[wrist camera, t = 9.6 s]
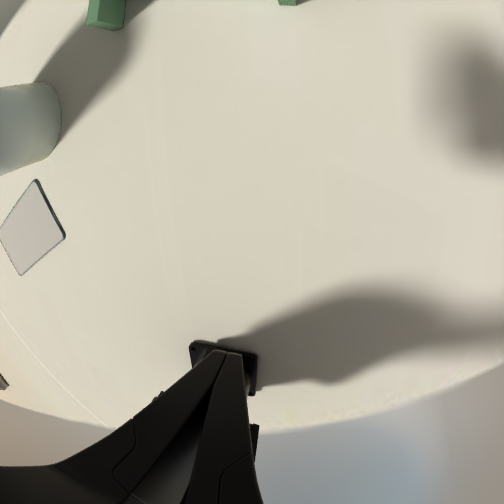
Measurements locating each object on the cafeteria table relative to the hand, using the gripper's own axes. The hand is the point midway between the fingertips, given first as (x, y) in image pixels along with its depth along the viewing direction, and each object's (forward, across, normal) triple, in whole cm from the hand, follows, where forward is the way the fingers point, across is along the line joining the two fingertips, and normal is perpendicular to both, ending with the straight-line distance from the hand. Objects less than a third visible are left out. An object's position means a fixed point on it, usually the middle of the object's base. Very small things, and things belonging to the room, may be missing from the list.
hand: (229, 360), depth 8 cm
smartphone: (+13, +28, +4) cm, 31 cm away
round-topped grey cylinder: (+12, +22, -8) cm, 26 cm away
